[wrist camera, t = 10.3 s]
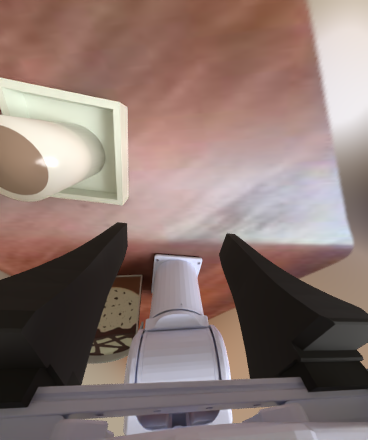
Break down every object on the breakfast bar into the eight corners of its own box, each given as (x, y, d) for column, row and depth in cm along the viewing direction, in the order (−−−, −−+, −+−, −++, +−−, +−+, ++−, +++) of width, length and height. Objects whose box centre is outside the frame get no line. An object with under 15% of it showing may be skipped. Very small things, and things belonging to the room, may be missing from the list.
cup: (107, 179, 18) (64, 206, 11) (59, 172, 17) (-19, 196, 10) (103, 129, 16) (45, 123, 9) (48, 118, 15) (-64, 103, 8)
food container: (89, 299, 29) (54, 368, 21) (79, 277, 26) (32, 347, 18) (153, 295, 30) (146, 361, 21) (150, 274, 27) (140, 339, 18)
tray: (128, 197, 20) (122, 205, 18) (46, 187, 19) (29, 194, 16) (127, 107, 15) (119, 102, 13) (19, 85, 14) (-11, 75, 12)
